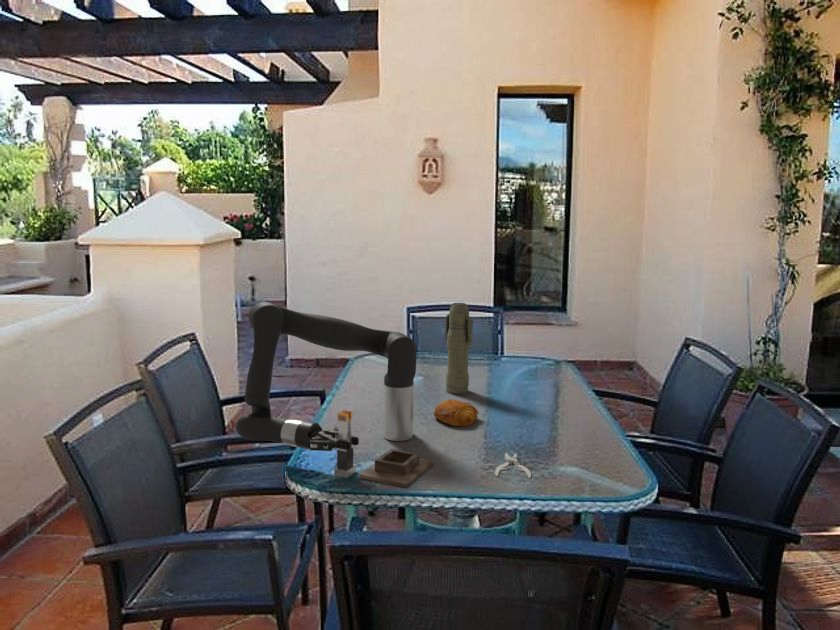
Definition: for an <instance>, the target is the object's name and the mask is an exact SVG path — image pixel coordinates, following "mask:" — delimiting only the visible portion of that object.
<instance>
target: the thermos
mask: <svg viewBox="0 0 840 630" xmlns="http://www.w3.org/2000/svg"><path fill="white" fill-rule="evenodd" d="M473 324H474V320H473V318H472V317H471V316H470V310H469V306H468V304H466V303H464V302H453V303H452V304H451V306H450V308H449V314H446V317H445V340H446V347H447V372H446V375H445V386H446V387H445V388H446V390H445V392H446V393H447V394H451V395H465V394H467V393H469V386H470V381H469V380H470V374H469V350H470V349H471V348H470V345H471V343H472V342H473V327H474V326H473Z"/></svg>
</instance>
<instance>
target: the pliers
mask: <svg viewBox="0 0 840 630" xmlns="http://www.w3.org/2000/svg"><path fill="white" fill-rule="evenodd" d="M517 455H518V454H517V453H514V454H513V456H510V455H509V454H508V452H505V453H504V460H505V462H504V463H502V464H499V465H498V466H497V467H496V468H495V470H494V474H495V477H499V475H500V472H501V471H506V470H508V469H510V468H511V466H509V465H514V466H513V469H515V470H517V471H520V472H524V473H525V474H526V476H527V477H528V479H531V478H532V473H531V471H530V470H529V469H528V468H527V467H526V466H524V465H522V464H520V462H519V460H518V459H517Z"/></svg>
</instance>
